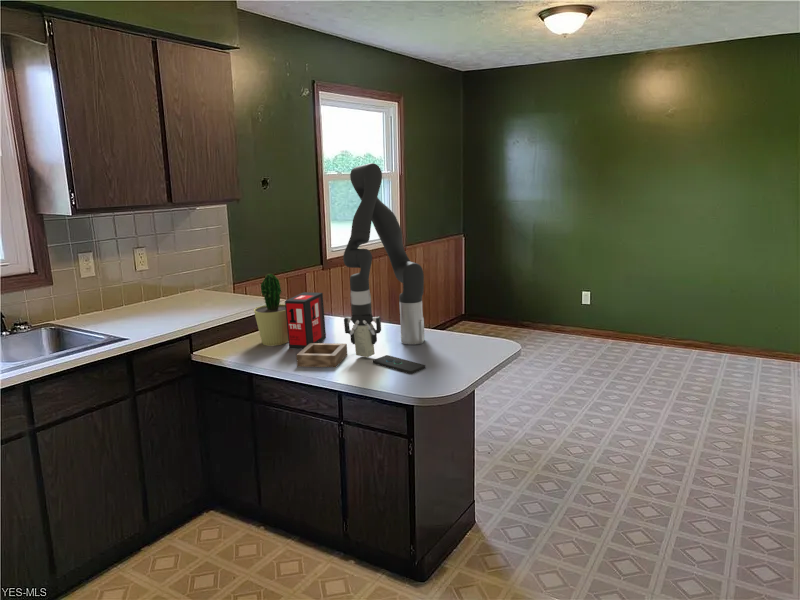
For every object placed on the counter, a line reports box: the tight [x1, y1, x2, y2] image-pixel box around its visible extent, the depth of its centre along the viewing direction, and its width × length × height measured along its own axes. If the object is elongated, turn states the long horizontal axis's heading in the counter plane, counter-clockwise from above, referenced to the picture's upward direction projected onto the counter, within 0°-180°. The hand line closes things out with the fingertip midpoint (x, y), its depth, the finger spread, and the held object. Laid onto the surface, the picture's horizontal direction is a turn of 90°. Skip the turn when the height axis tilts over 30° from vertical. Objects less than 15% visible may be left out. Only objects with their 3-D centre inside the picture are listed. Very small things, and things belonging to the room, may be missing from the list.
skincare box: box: [352, 323, 375, 358], centre depth 230 cm, size 6×4×12 cm
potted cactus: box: [253, 272, 289, 347], centre depth 255 cm, size 15×15×30 cm
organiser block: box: [295, 342, 348, 368], centre depth 230 cm, size 15×15×4 cm
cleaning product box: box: [284, 291, 327, 350], centre depth 252 cm, size 16×9×20 cm, turn 162°
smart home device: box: [372, 355, 426, 375], centre depth 221 cm, size 8×2×20 cm
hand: (364, 343), depth 230 cm, fingers closed on skincare box, 7 cm apart
